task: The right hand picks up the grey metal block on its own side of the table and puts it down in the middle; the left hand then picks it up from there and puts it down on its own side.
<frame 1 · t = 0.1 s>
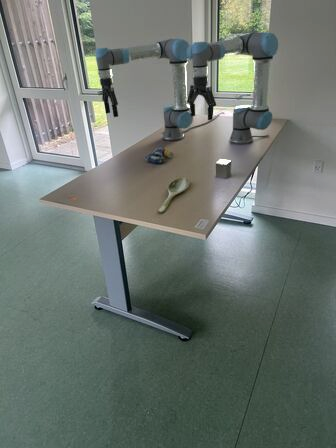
left hand: (112, 114, 206), 28 cm above the table, tool pointing down, fingers open, 13 cm apart
right hand: (201, 117, 183), 28 cm above the table, tool pointing down, fingers open, 13 cm apart
grey metal block: (223, 175, 183), on the table
spoon: (173, 196, 166), on the table
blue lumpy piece: (160, 158, 213), on the table
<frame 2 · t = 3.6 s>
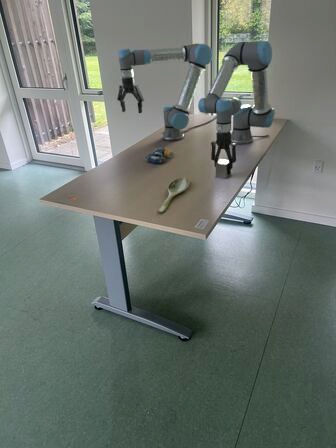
left hand: (132, 112, 218), 26 cm above the table, tool pointing down, fingers open, 13 cm apart
right hand: (223, 173, 182), 1 cm above the table, tool pointing down, fingers closed on grey metal block, 6 cm apart
grey metal block: (223, 175, 183), on the table, touching right hand
everything else where it was.
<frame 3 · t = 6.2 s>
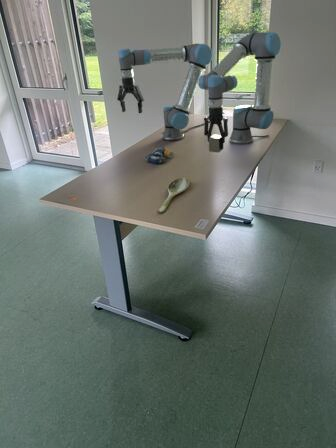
left hand: (132, 112, 218), 26 cm above the table, tool pointing down, fingers open, 13 cm apart
right hand: (216, 147, 192), 10 cm above the table, tool pointing down, fingers closed on grey metal block, 6 cm apart
grey metal block: (216, 150, 193), point 9 cm above the table, touching right hand
everything else where it was.
when the right hand's fingers open (3 cm above the table, at t = 9.1 s): grey metal block drops 2 cm, on the table.
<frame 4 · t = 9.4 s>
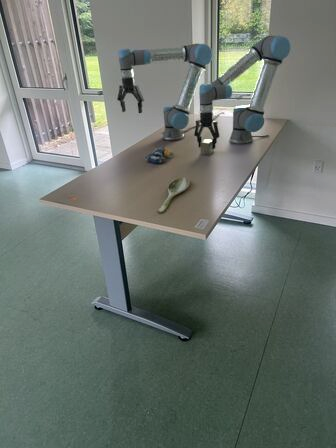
left hand: (132, 112, 218), 26 cm above the table, tool pointing down, fingers open, 13 cm apart
right hand: (206, 147, 213), 4 cm above the table, tool pointing down, fingers open, 9 cm apart
grey metal block: (207, 153, 215), on the table
everything else where it was.
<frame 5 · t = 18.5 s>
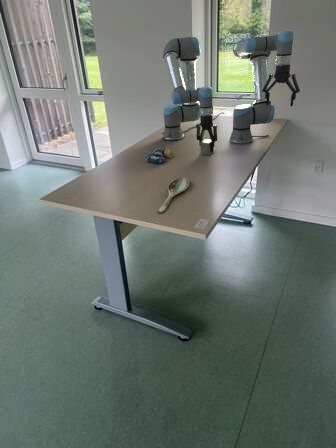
left hand: (207, 151, 214), 1 cm above the table, tool pointing down, fingers closed on grey metal block, 6 cm apart
right hand: (279, 105, 190), 29 cm above the table, tool pointing down, fingers open, 13 cm apart
grey metal block: (207, 153, 215), on the table, touching left hand
everything else where it was.
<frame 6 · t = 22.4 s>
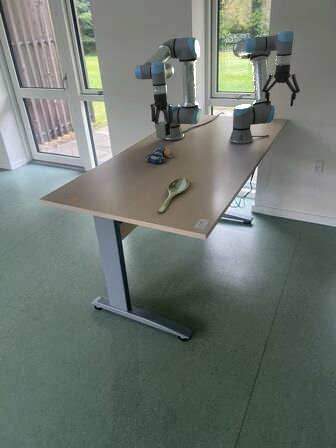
left hand: (163, 134, 198), 18 cm above the table, tool pointing down, fingers closed on grey metal block, 6 cm apart
right hand: (279, 105, 190), 29 cm above the table, tool pointing down, fingers open, 13 cm apart
grey metal block: (163, 136, 199), point 16 cm above the table, touching left hand
everything else where it was.
when the left hand's fingers open (3 cm above the table, at t = 26.4 s): grey metal block drops 2 cm, on the table.
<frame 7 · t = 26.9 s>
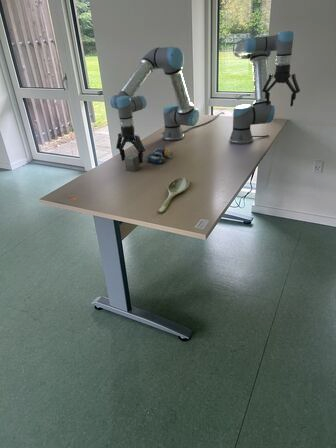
left hand: (132, 161, 199), 5 cm above the table, tool pointing down, fingers open, 12 cm apart
right hand: (279, 105, 190), 29 cm above the table, tool pointing down, fingers open, 13 cm apart
grey metal block: (133, 169, 202), on the table
everything else where it was.
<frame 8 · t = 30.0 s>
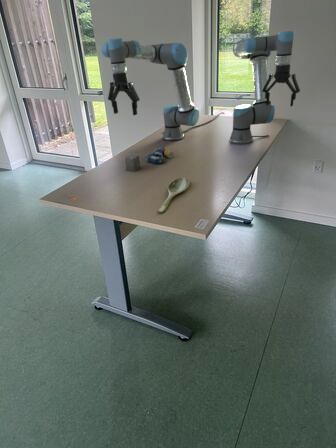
left hand: (125, 114, 185), 33 cm above the table, tool pointing down, fingers open, 13 cm apart
right hand: (279, 105, 190), 29 cm above the table, tool pointing down, fingers open, 13 cm apart
nothing on the table moved.
at the end: grey metal block inside the target area (0.1 cm from its centre), on the table; grey metal block tilted 0°; the two hands never held the grey metal block at the same time; the left hand is holding nothing; the right hand is holding nothing; grey metal block at rest at the end (0.0 cm/s) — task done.
